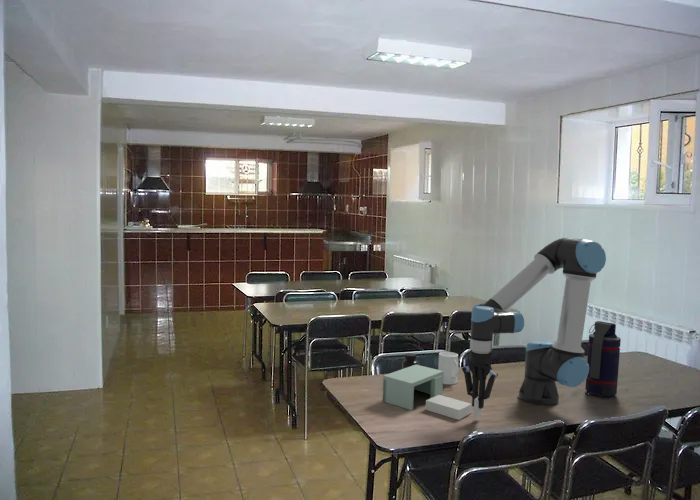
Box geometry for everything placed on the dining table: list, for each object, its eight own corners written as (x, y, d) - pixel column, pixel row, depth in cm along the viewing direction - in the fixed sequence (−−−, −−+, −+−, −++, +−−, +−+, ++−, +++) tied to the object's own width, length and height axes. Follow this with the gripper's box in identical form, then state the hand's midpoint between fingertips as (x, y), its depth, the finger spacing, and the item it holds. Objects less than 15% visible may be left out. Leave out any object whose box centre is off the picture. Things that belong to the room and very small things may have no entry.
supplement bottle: (419, 381, 249) (421, 353, 248) (414, 385, 243) (416, 357, 242) (404, 378, 252) (405, 351, 251) (399, 383, 246) (400, 355, 245)
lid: (471, 413, 213) (471, 403, 213) (458, 419, 207) (459, 410, 206) (438, 403, 222) (438, 394, 222) (425, 409, 216) (425, 400, 215)
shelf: (443, 396, 231) (444, 371, 230) (411, 410, 214) (413, 383, 213) (414, 388, 240) (415, 364, 239) (382, 401, 223) (383, 375, 222)
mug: (464, 386, 245) (466, 358, 244) (446, 387, 242) (447, 359, 241) (451, 377, 256) (452, 351, 255) (433, 379, 253) (434, 352, 252)
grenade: (592, 387, 249) (597, 318, 246) (621, 394, 240) (626, 323, 238) (578, 394, 239) (583, 322, 237) (607, 402, 231) (613, 327, 228)
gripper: (502, 352, 203) (499, 418, 205) (469, 345, 212) (466, 408, 214) (493, 356, 197) (489, 424, 200) (459, 349, 206) (455, 414, 208)
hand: (477, 416), depth 207 cm, fingers closed
